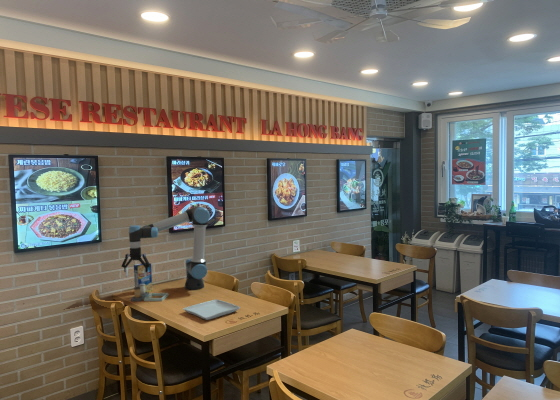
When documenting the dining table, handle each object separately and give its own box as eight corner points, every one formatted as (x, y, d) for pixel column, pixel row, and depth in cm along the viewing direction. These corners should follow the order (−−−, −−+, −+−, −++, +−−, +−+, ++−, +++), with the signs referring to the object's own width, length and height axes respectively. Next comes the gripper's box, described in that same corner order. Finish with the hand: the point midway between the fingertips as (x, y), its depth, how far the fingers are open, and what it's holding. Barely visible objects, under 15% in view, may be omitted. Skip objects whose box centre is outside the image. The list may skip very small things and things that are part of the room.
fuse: (146, 295, 302) (145, 283, 302) (144, 296, 298) (143, 284, 298) (141, 295, 303) (140, 283, 302) (138, 297, 299) (138, 284, 298)
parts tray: (168, 296, 300) (168, 292, 300) (162, 301, 287) (162, 298, 287) (151, 296, 301) (151, 293, 301) (144, 301, 288) (143, 298, 288)
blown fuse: (141, 298, 294) (141, 286, 293) (139, 300, 290) (138, 288, 289) (136, 298, 294) (135, 286, 294) (133, 300, 290) (133, 288, 289)
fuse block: (149, 295, 304) (149, 292, 304) (140, 302, 288) (140, 298, 288) (140, 295, 304) (139, 292, 304) (131, 302, 289) (130, 298, 289)
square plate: (241, 312, 262) (241, 306, 262) (205, 323, 243) (205, 317, 243) (216, 303, 281) (216, 298, 281) (182, 313, 262) (181, 307, 262)
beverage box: (134, 293, 311) (133, 264, 310) (148, 290, 319) (147, 262, 317) (138, 294, 306) (137, 266, 305) (152, 291, 314) (151, 263, 312)
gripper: (154, 246, 293) (155, 275, 294) (120, 246, 294) (121, 275, 295) (150, 248, 285) (151, 277, 286) (115, 248, 287) (116, 277, 288)
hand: (136, 276), depth 291 cm, fingers open, 13 cm apart
